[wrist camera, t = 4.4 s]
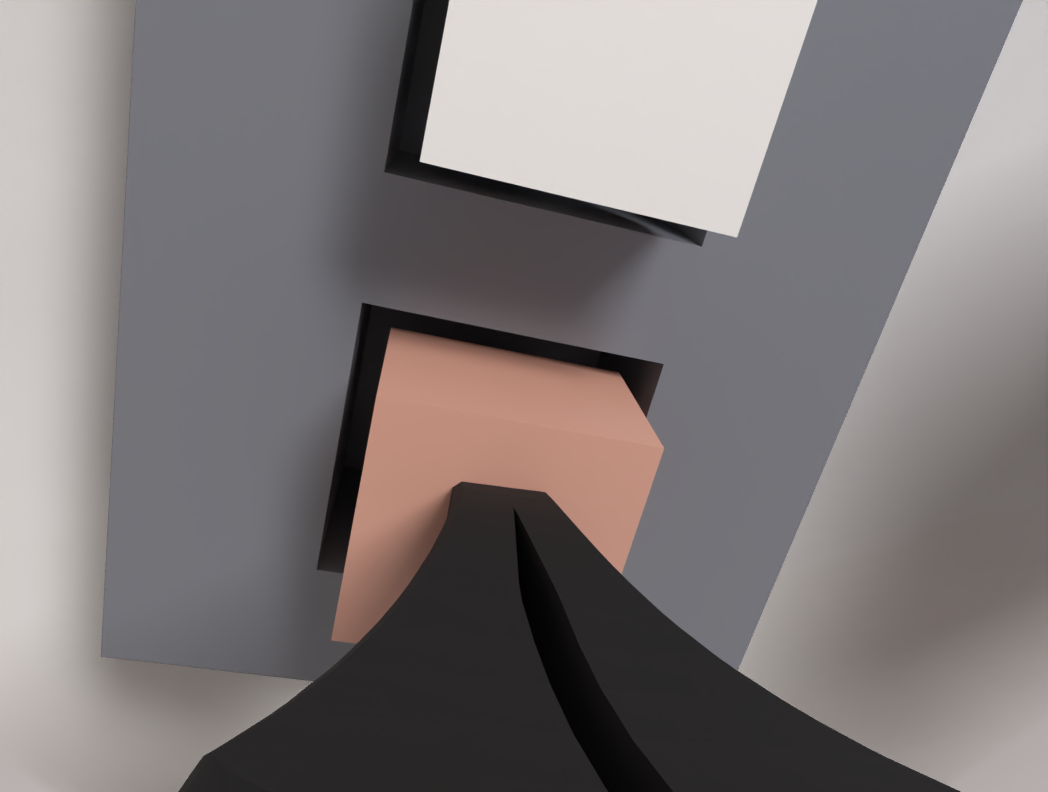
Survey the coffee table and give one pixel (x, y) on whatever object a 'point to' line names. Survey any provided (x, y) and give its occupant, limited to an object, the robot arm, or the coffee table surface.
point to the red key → (487, 457)
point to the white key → (617, 99)
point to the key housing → (480, 305)
